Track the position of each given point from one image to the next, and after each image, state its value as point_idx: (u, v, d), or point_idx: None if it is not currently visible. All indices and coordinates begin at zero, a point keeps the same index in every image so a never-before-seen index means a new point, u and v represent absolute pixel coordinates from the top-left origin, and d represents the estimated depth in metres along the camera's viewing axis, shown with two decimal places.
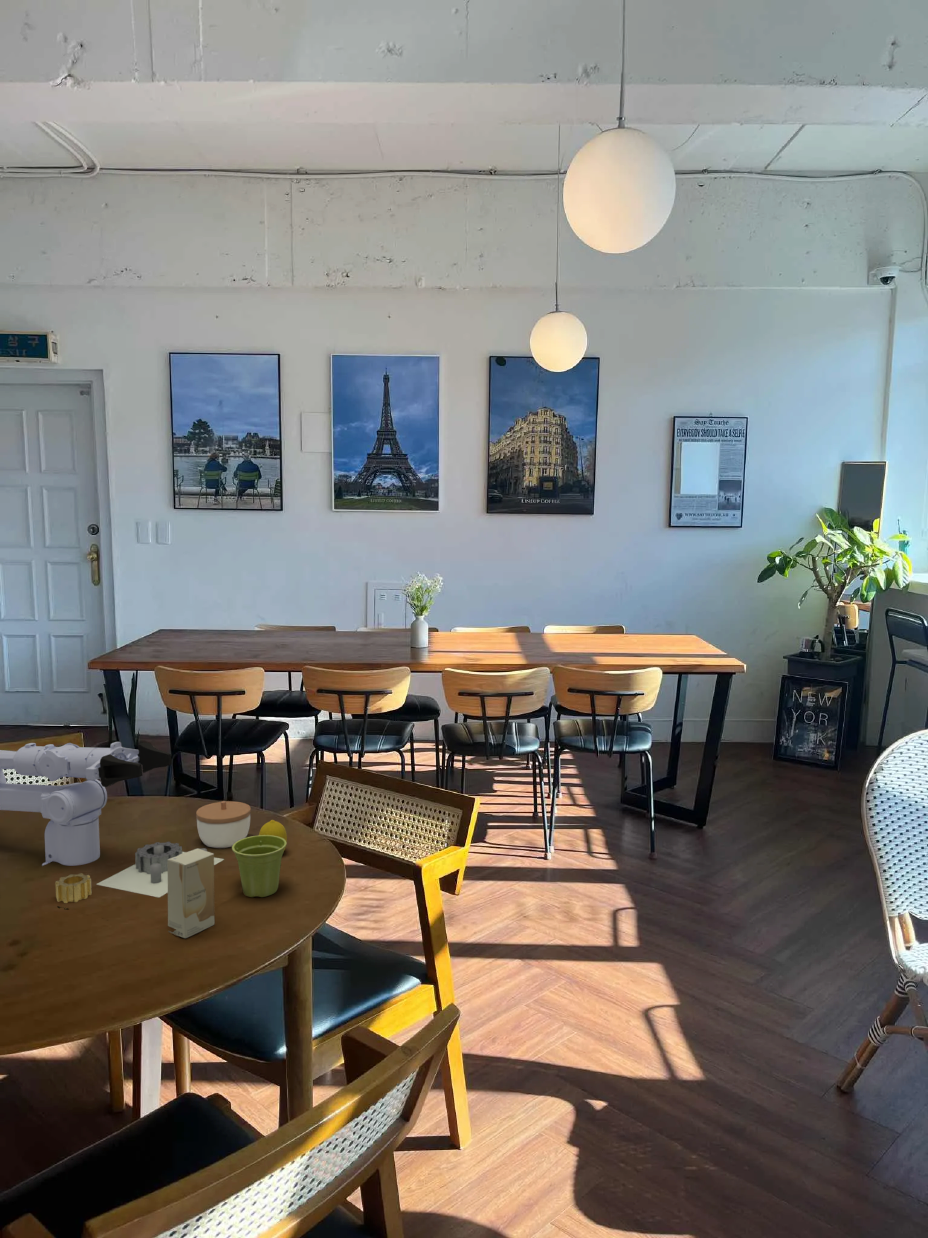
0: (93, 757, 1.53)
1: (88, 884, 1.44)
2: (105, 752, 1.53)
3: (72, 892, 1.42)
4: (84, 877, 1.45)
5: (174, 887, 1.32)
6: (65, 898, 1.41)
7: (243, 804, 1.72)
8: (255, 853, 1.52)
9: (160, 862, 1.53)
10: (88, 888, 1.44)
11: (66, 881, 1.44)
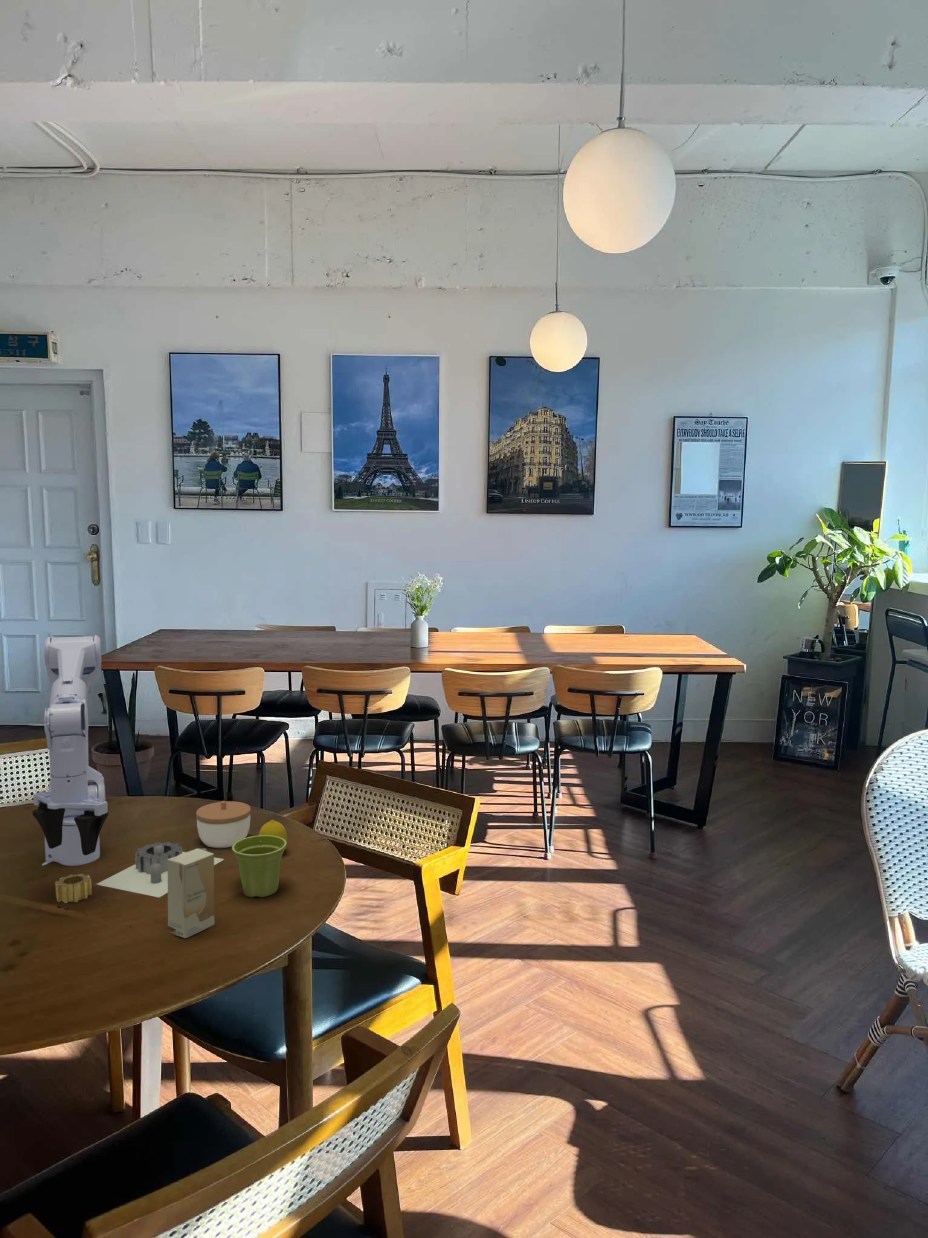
0: (50, 782, 1.41)
1: (88, 884, 1.44)
2: (51, 796, 1.40)
3: (72, 892, 1.42)
4: (84, 877, 1.45)
5: (174, 887, 1.32)
6: (65, 898, 1.41)
7: (243, 804, 1.72)
8: (255, 853, 1.52)
9: (160, 862, 1.53)
10: (88, 888, 1.44)
11: (66, 881, 1.44)
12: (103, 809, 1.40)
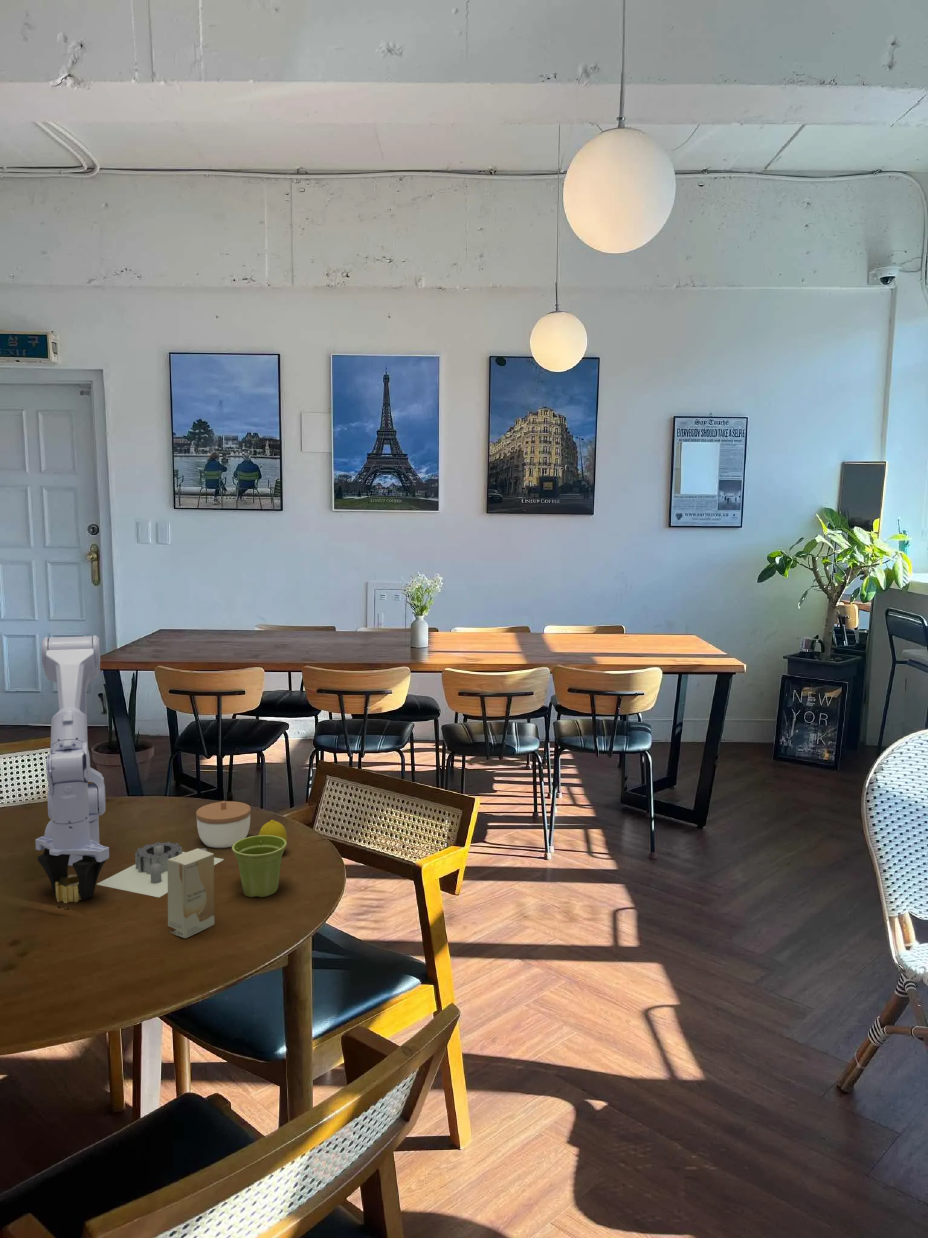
0: None
1: None
2: (53, 842, 1.41)
3: (72, 892, 1.42)
4: None
5: (173, 887, 1.32)
6: (65, 898, 1.41)
7: (243, 804, 1.72)
8: (255, 853, 1.52)
9: (160, 862, 1.53)
10: None
11: (66, 881, 1.44)
12: (104, 855, 1.40)
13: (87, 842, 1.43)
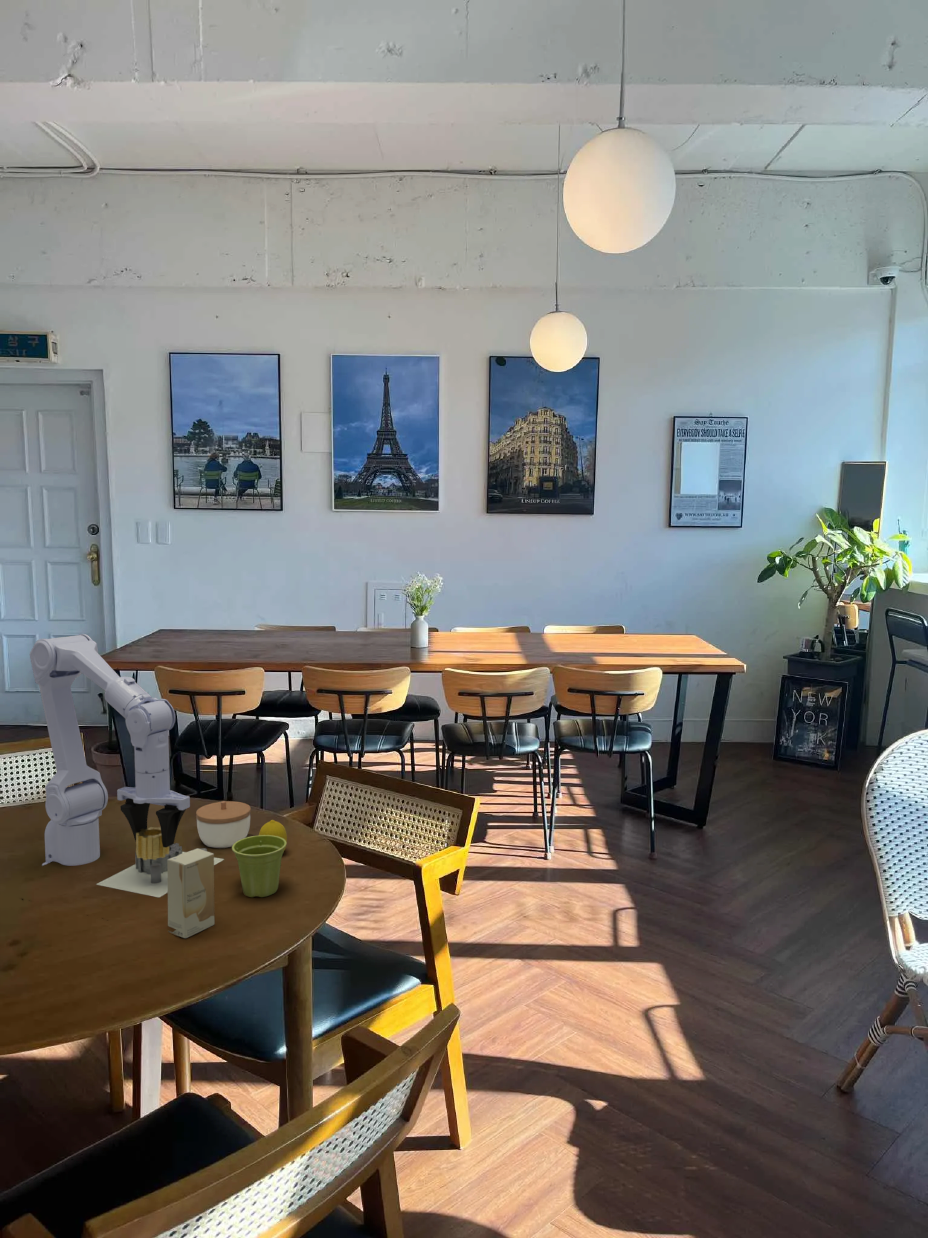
0: (135, 777, 1.47)
1: None
2: (136, 791, 1.46)
3: (151, 843, 1.46)
4: None
5: (173, 887, 1.32)
6: (144, 849, 1.46)
7: (243, 804, 1.72)
8: (255, 853, 1.52)
9: (160, 862, 1.53)
10: None
11: (146, 833, 1.49)
12: (186, 803, 1.46)
13: (168, 792, 1.48)
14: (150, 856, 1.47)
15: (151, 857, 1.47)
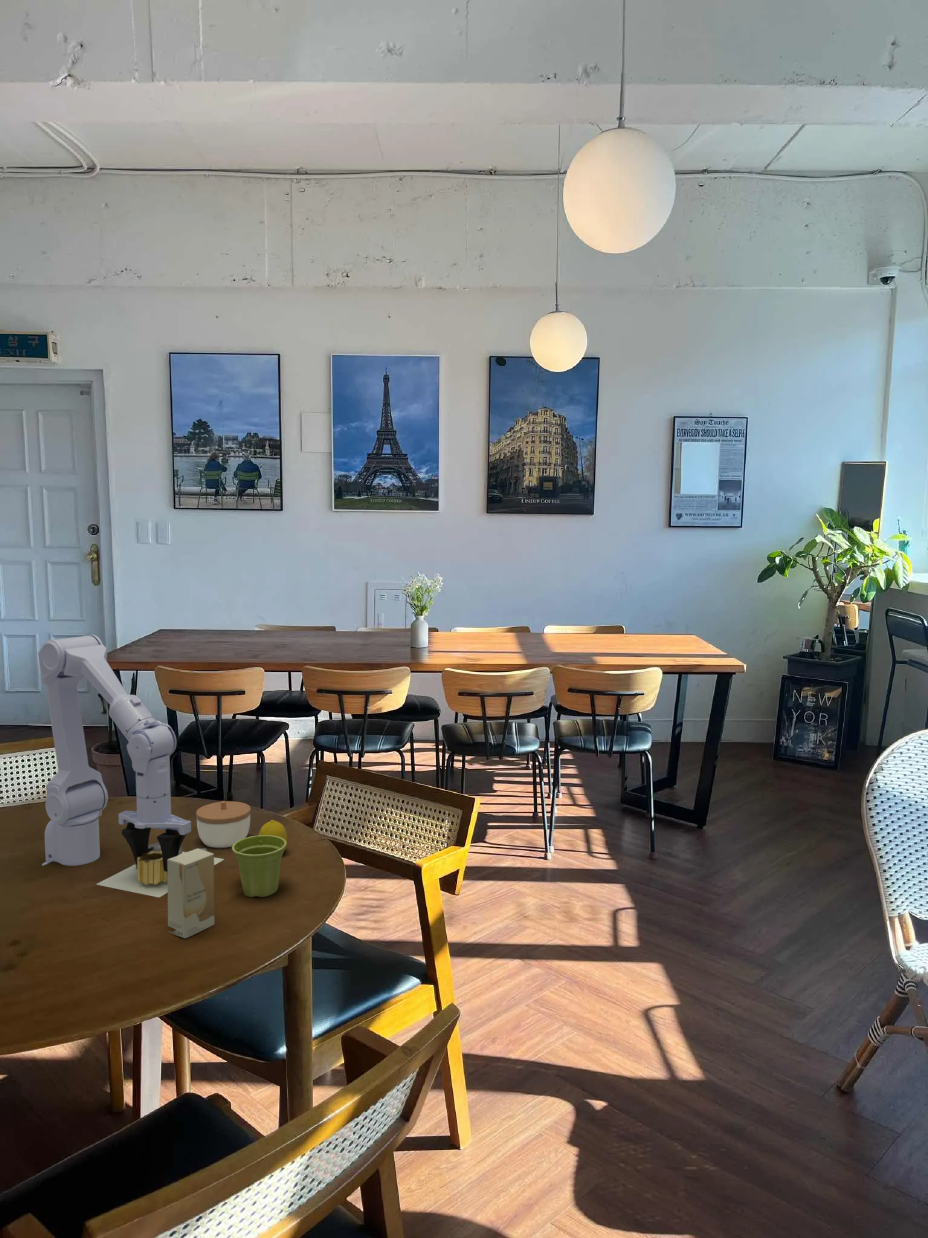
0: None
1: None
2: (137, 816, 1.47)
3: (152, 868, 1.47)
4: None
5: (173, 887, 1.32)
6: (145, 873, 1.47)
7: (243, 804, 1.72)
8: (255, 853, 1.52)
9: None
10: None
11: (147, 857, 1.50)
12: (187, 828, 1.46)
13: (169, 816, 1.48)
14: (151, 880, 1.47)
15: (152, 881, 1.47)
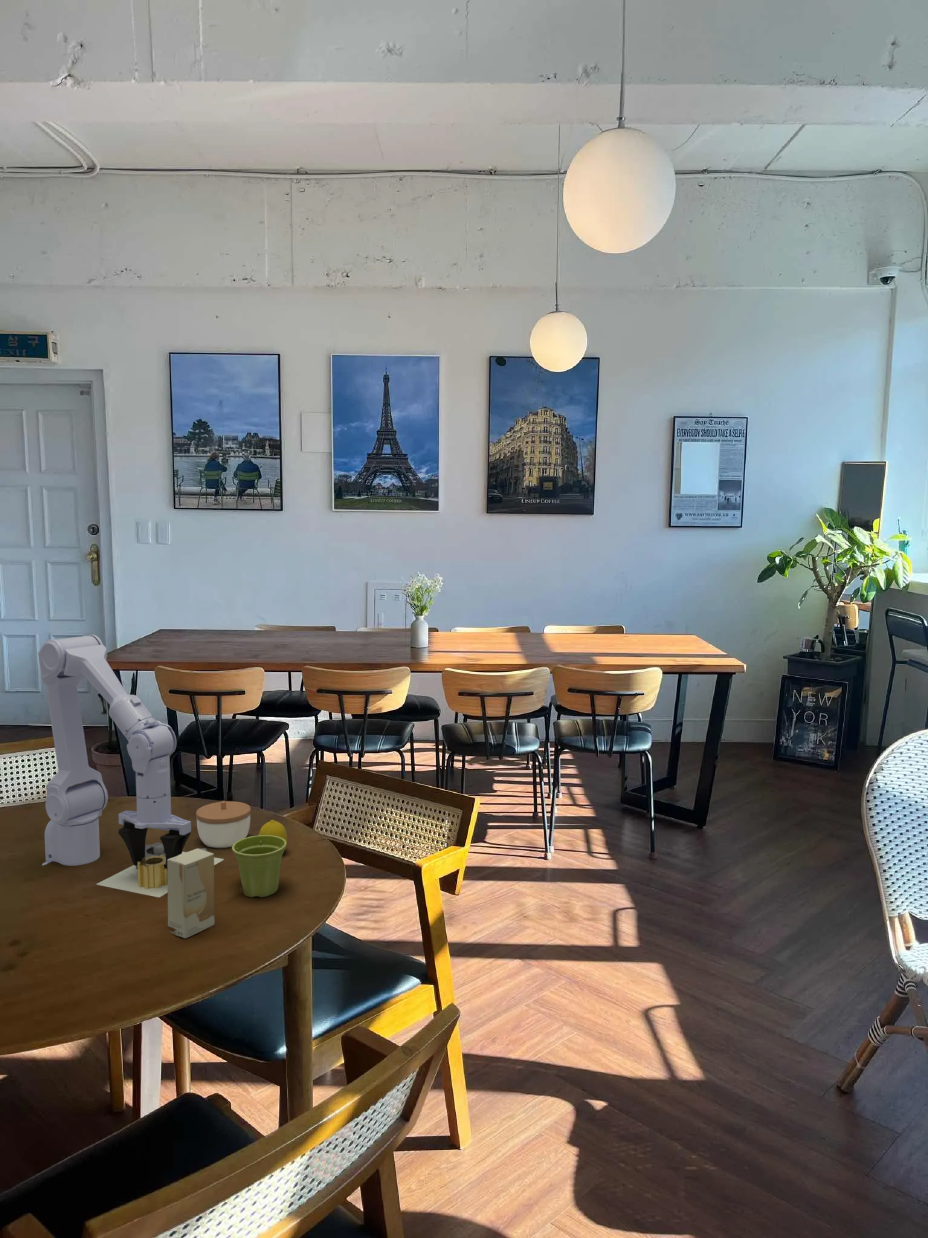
0: None
1: None
2: (137, 816, 1.47)
3: (152, 872, 1.47)
4: (164, 858, 1.50)
5: (174, 887, 1.32)
6: (146, 878, 1.47)
7: (243, 804, 1.72)
8: (255, 853, 1.52)
9: None
10: None
11: (147, 862, 1.50)
12: (187, 828, 1.46)
13: (169, 816, 1.48)
14: (152, 885, 1.47)
15: (153, 886, 1.47)
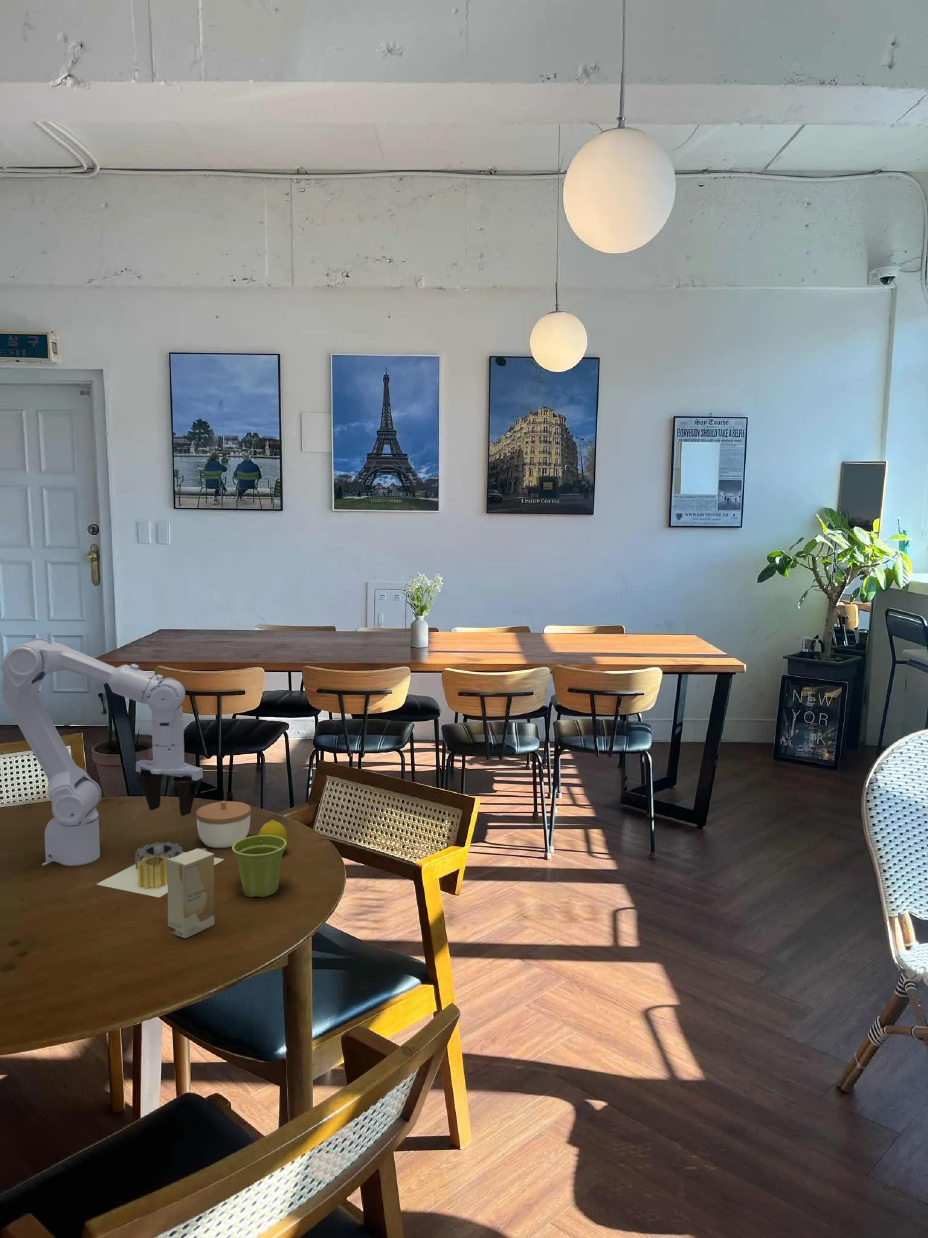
0: None
1: None
2: (153, 763, 1.59)
3: (152, 872, 1.47)
4: (164, 858, 1.50)
5: (174, 887, 1.32)
6: (146, 878, 1.47)
7: (243, 804, 1.72)
8: (255, 853, 1.52)
9: None
10: None
11: (147, 862, 1.50)
12: (199, 774, 1.58)
13: (182, 764, 1.60)
14: (152, 885, 1.47)
15: (153, 886, 1.47)
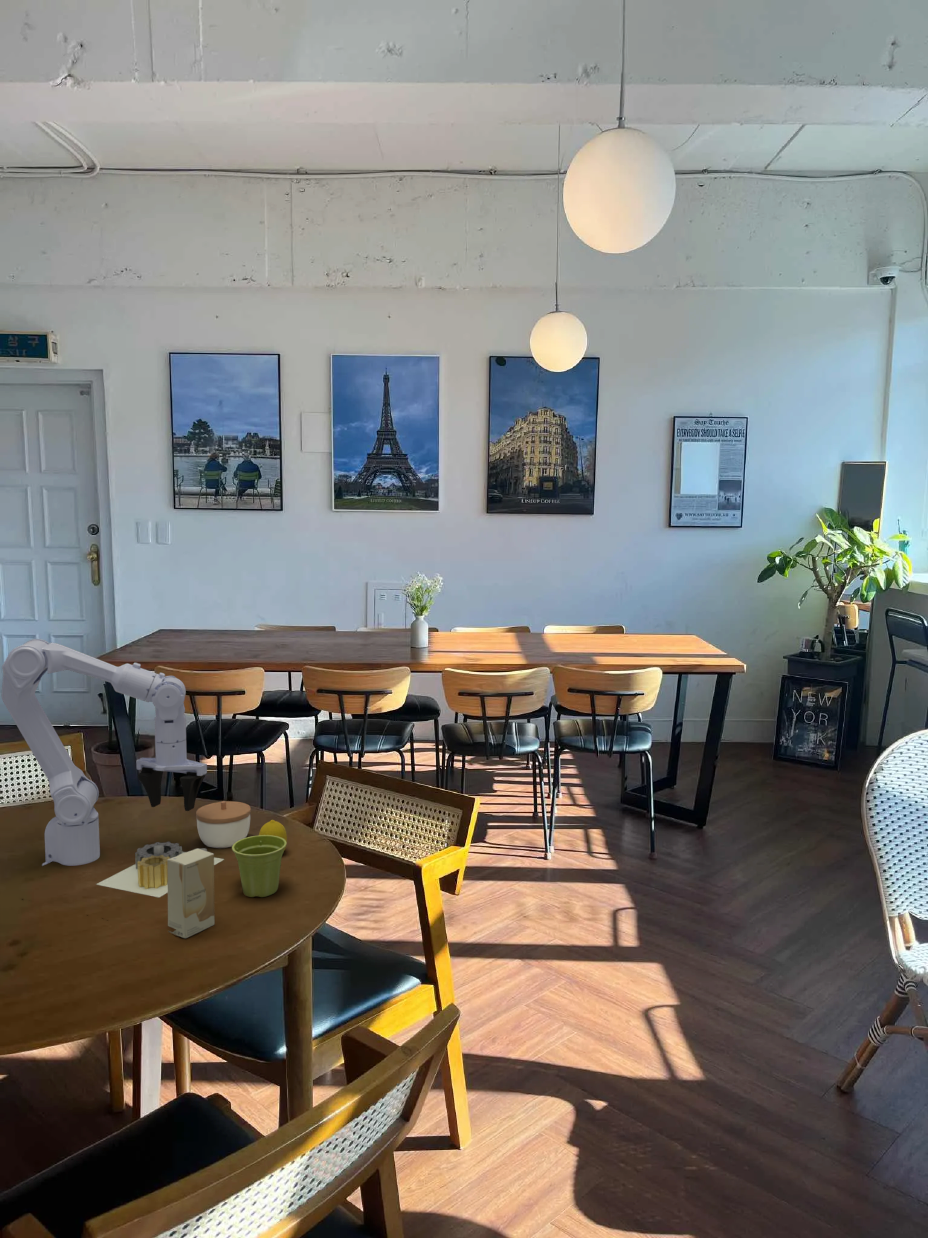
0: (155, 748, 1.61)
1: None
2: (157, 760, 1.61)
3: (152, 872, 1.47)
4: (164, 858, 1.50)
5: (174, 887, 1.32)
6: (146, 878, 1.47)
7: (243, 804, 1.72)
8: (255, 853, 1.52)
9: None
10: None
11: (147, 862, 1.50)
12: (204, 770, 1.61)
13: (185, 760, 1.63)
14: (152, 885, 1.47)
15: (153, 886, 1.47)
